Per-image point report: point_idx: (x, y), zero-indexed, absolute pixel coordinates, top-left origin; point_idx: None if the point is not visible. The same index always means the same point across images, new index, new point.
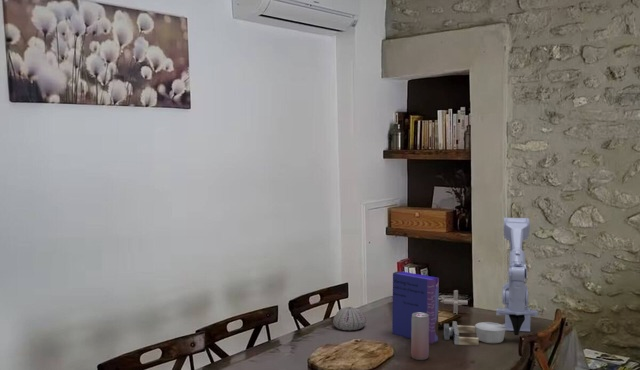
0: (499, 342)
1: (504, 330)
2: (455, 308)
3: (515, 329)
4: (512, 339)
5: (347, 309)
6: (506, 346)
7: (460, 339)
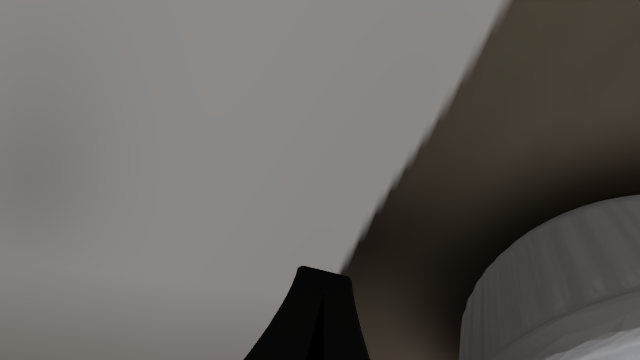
0: (585, 205)
1: (569, 334)
2: None
3: (343, 339)
4: None
5: None
6: (580, 54)
7: None
